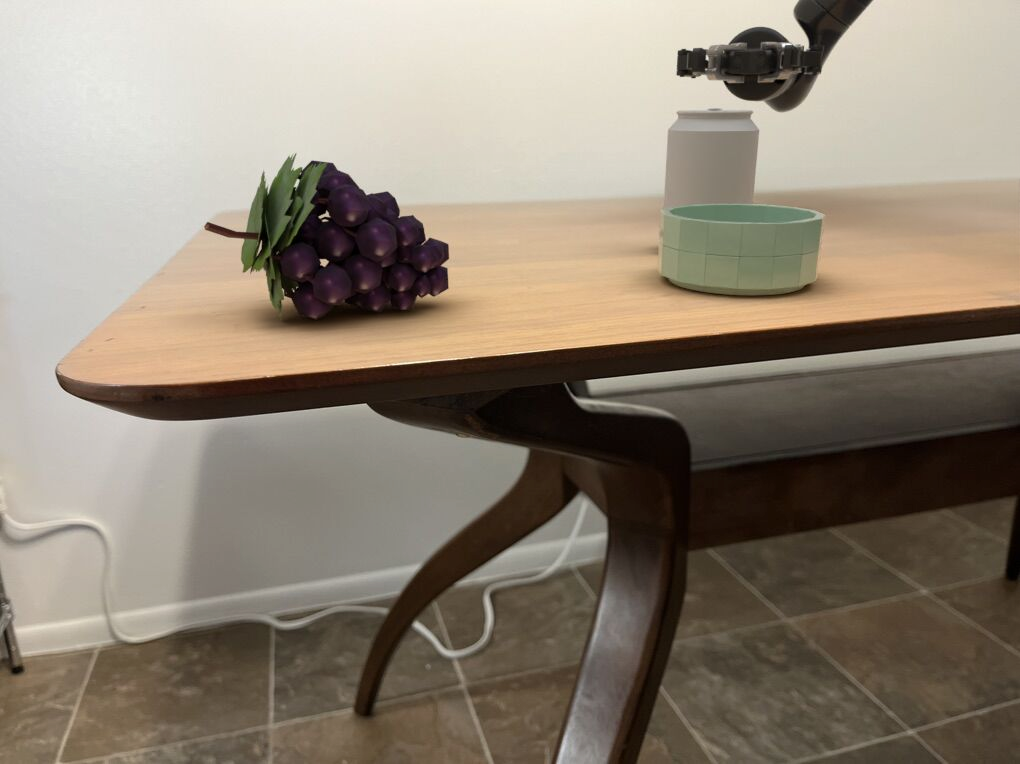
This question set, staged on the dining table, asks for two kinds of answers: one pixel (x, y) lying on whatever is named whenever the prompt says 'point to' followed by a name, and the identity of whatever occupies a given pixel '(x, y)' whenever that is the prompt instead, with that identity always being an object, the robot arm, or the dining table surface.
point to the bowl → (740, 247)
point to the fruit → (337, 244)
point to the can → (711, 158)
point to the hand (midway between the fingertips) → (740, 58)
